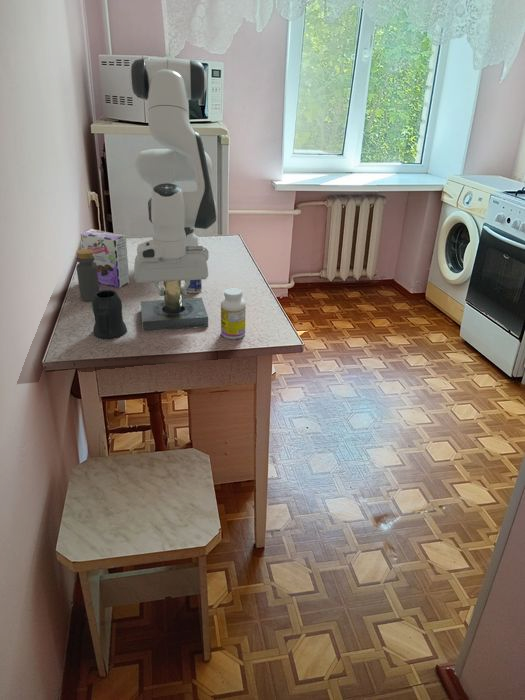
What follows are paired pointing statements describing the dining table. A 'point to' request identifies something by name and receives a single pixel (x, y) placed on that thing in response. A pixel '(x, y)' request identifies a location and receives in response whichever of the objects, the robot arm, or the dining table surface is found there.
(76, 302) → the dining table surface
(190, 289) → the pill bottle
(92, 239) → the candy box
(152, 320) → the jig
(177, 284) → the gold rounded cylinder
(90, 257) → the bottle
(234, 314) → the supplement bottle
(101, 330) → the dark grey flared cylinder
